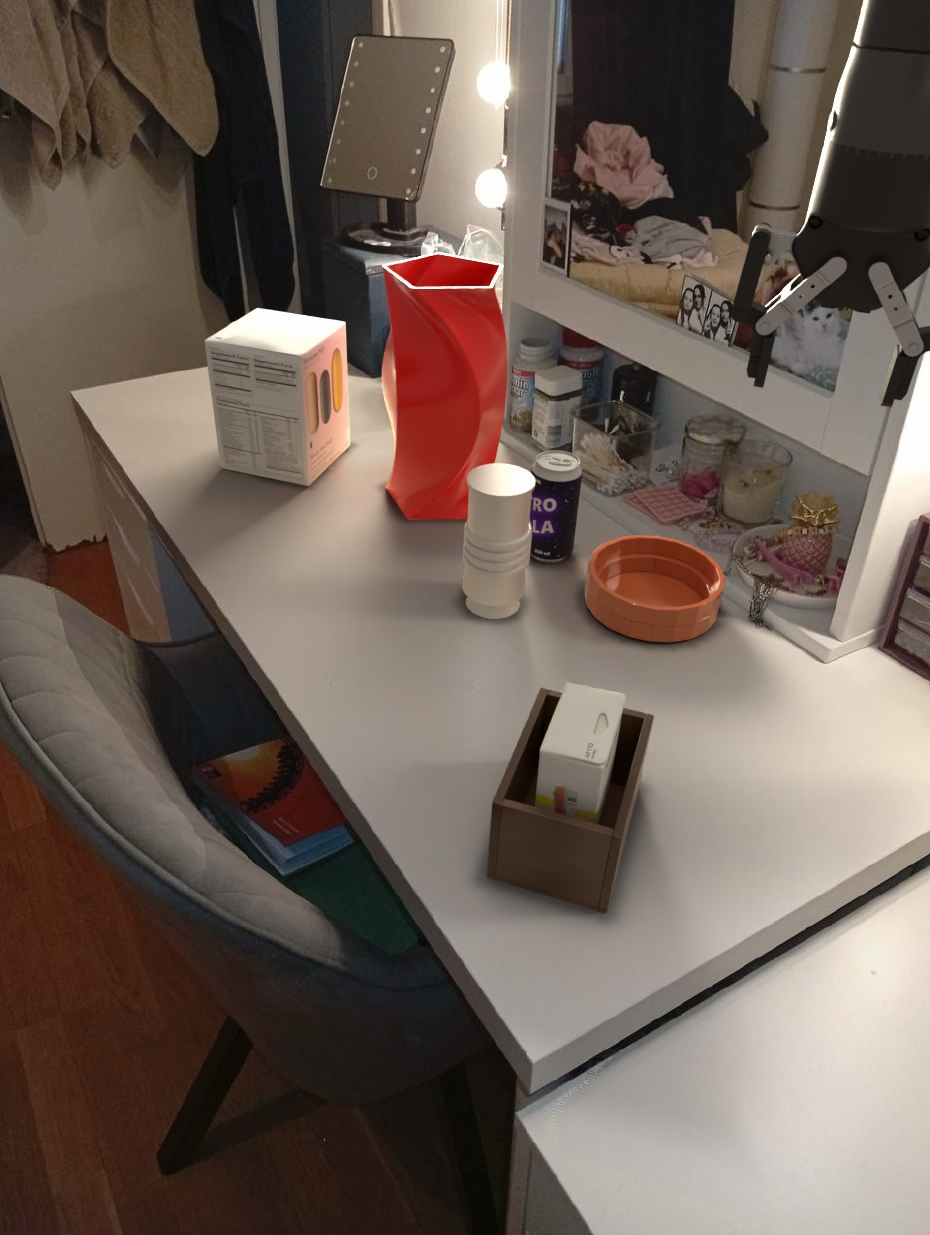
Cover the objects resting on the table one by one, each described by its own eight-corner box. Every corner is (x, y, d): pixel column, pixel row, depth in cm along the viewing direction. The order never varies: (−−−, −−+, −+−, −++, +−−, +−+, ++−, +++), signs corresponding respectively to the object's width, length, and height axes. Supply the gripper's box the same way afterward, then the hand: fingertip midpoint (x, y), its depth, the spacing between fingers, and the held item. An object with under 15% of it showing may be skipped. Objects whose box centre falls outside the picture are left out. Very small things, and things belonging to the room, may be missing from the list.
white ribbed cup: (531, 619, 98) (544, 494, 89) (466, 624, 97) (472, 498, 88) (517, 583, 104) (528, 461, 95) (456, 587, 103) (461, 464, 94)
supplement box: (309, 488, 119) (300, 356, 109) (219, 469, 122) (201, 339, 112) (352, 445, 129) (348, 320, 119) (267, 429, 132) (256, 306, 122)
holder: (638, 788, 79) (654, 714, 74) (606, 914, 69) (622, 838, 64) (532, 760, 82) (540, 687, 77) (486, 878, 71) (492, 802, 66)
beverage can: (526, 537, 111) (534, 446, 104) (573, 542, 111) (584, 451, 104) (521, 563, 107) (529, 469, 100) (571, 568, 106) (583, 474, 99)
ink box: (552, 782, 79) (566, 675, 72) (609, 797, 78) (629, 690, 71) (525, 858, 72) (537, 749, 65) (587, 876, 71) (606, 767, 64)
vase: (467, 535, 111) (476, 300, 95) (358, 509, 115) (349, 279, 99) (507, 480, 123) (523, 261, 106) (407, 458, 127) (407, 244, 110)
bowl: (723, 584, 105) (731, 550, 102) (707, 658, 94) (716, 622, 91) (599, 558, 108) (604, 525, 106) (571, 627, 97) (575, 591, 95)
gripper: (1013, 138, 57) (925, 389, 66) (774, 116, 60) (723, 359, 70) (1031, 159, 51) (932, 432, 61) (765, 135, 54) (711, 396, 64)
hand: (820, 393), depth 65 cm, fingers open, 8 cm apart
